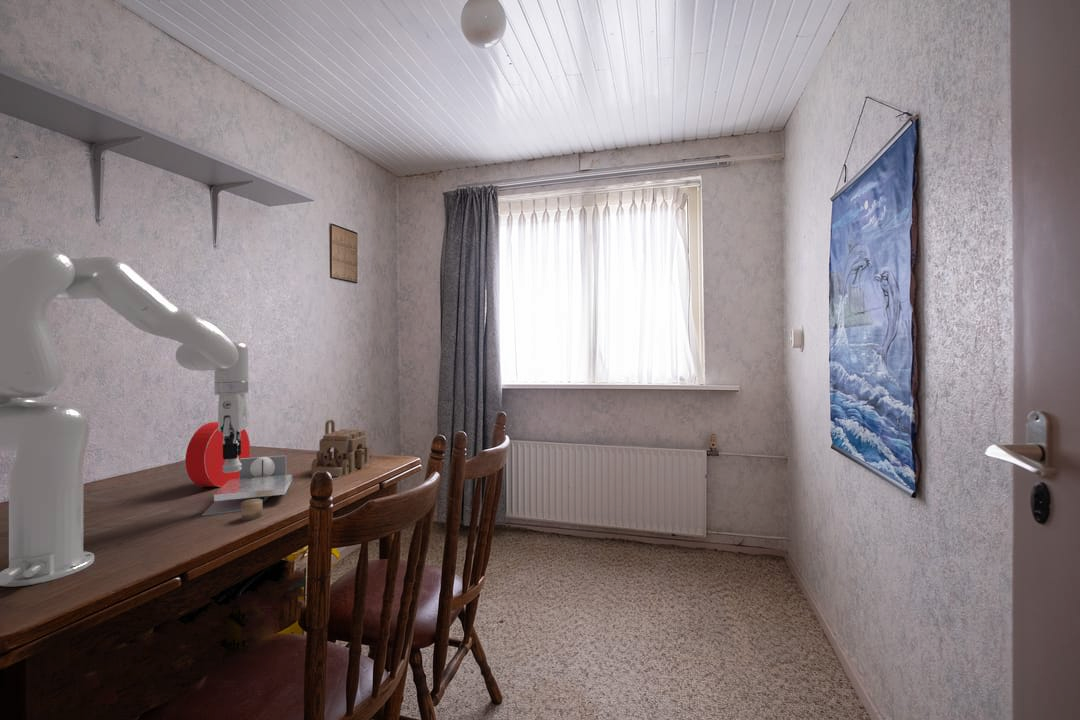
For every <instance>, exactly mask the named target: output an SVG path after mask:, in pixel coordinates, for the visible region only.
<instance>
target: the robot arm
mask: <svg viewBox="0 0 1080 720" xmlns="http://www.w3.org/2000/svg"><path fill="white" fill-rule="evenodd" d="M55 299H56V300H83V299H84V300H87V299H88V300H89V299H91V300H92V299H98V300H100V301H101V302H103V303H105V305H107V306H108V307H109V308H111V310H114V312H116V313H118V314H119V316H121V317H123V318H124V319H125V320H126V321H127V322H129V323H130V324H132V325H133V326H134V328H135V327H136V328H137V329H138V330H140V331H142V332H145V333H147V334H150V335H154V336H157V337H161V338H165V339H169V340H173V341H176V342H178V343H181V345H180V346H178V348H177V349H176V350H175V360H176V361H177V363H178V364H179V366H181V367H182V368H184V369H187V370H190V371H214V372H213V373H214V376H213V377H214V380H213V381H214V395H215V396H218V401H217V402H218V403H217V404H218V405H217V406H218V408H217V409H218V410H217V413H218V414H217V417H218V418H217V422H218V429H219V431H220V432H221V433H223V459H236V458H237V457H238V456H239V455H241V431H242V430H243V429H245V430H246V428H247V427H248V410H247V409H248V408H247V398H246V395H247V394H249V347H248V345H247V344H246V343H245V342H240V341H239V342H238V341H237V342H235V341H232V340H231V339H230V338H229V337H228V336H227V335H226V334H225V333H224V332H222V331H221V329H219V328H217V326H215V325H214V324H212V323H211V322H209V321H207V320H205V319H203V318H201V317H199V316H197V315H195V314H193V313H191V312H190V311H188V310H186V309H184V308H182V307H180V306H178V305H176V304H174V303H173V302H171V301H170V300H169V299H168V298H166V297H165V296H164V295H163V294H162V293H161V292H159V290H157V289H156V287H154V286H153V285H152V284H150V283H149V282H148V281H147V280H146V279H145V278H144V277H143V276H141V275H140V274H139V273H138V272H137V271H136V270H134V269H133V268H132V267H131V266H130V265H129V264H127V263H125V262H124V261H122V260H121V259H118V258H116V257H111V256H96V257H95V256H93V257H92V256H91V257H81V258H71V257H68V256H67V255H66V253H63V252H61V251H59V250H57V249H53V248H52V249H51V248H46V247H27V248H25V247H24V248H18V249H9V250H1V251H0V450H1V451H6V452H12V453H13V452H15V453H16V454H15V458H14V461H13V463H12V465H11V469H10V472H9V479H8V567H7V568H5V569H3V570H2V571H0V587H9V588H10V587H11V588H13V587H15V588H16V587H24V586H29V585H31V586H32V585H38V584H41V583H46V582H47V583H48V582H49V581H54V580H57V579H58V580H59V579H60V578H65V577H67V576H70V575H73V574H75V573H77V572H78V573H79V572H80V571H81V570H84V569H86V568H88V567H90V565H92V564H93V563H94V562H95V554H94V553H93V552H90V551H85V550H84V463H85V454H86V450H87V445H88V441H89V437H90V431H91V430H90V427H91V426H90V422H89V419H88V417H87V416H86V414H85V413H84V412H83V411H82V410H80V409H78V408H77V407H76V406H73V405H70V404H67V403H62V402H50V401H41V400H40V398H41V397H45V396H48V395H50V394H53V393H55V392H57V390H58V389H60V387H61V386H62V385H63V383H64V379H65V372H64V368H63V364H62V362H61V359H60V356H59V352H58V350H57V346H56V343H55V340H54V336H53V334H52V331H51V326H50V321H49V312H50V309H51V308H50V307H51V306H52V303H53V302H54V300H55ZM236 440H240V441H238V443H239V445H238V443H236Z"/></svg>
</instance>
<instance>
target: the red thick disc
mask: <svg viewBox="0 0 1080 720" xmlns="http://www.w3.org/2000/svg"><path fill="white" fill-rule="evenodd" d="M238 441H240V440H238ZM250 442H251V441H250V437H249V434H248V432H247V430H246V428H245V429H243V430H242V431H241V455H239V456H238V459H240V458H250V453H251V443H250ZM225 461H226V459H223V433H221V432H220V431H219V429H218V421H216V422H215V421H213V422H212V421H210V422H208V423H205V424H203V425H201V426H200V427H199V428H198V429H197V430H196V431H195V432H194V434H193V435H192V436H191V439H190V441H189V442H188V444H187V448H186V452H185V470H186V473H187V475H188V478H189V480H191V482H192V483H194V484H195V485H197V486H199V487H203V488H204V487H208V488H209V487H210V488H212V487H214V488H216V487H217V488H218V487H219V488H222V487H223V486H224V485H225V484H226V483H227V482H228V481H229V480H231V479H239V471H237V472H230V473H224V472H223V471H222V470H223V469H224V468H223V465H224V464H225V463H224V462H225Z"/></svg>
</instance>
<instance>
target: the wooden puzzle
mask: <svg viewBox="0 0 1080 720" xmlns="http://www.w3.org/2000/svg"><path fill="white" fill-rule="evenodd" d="M324 425H325V426H324V435H323V436H322V438H320V440H319V442H318V443H319V444H318V445H319V446H318V447H319V450H318V451H316V458H314V459H313V460H312V462H311V468H310V469H311V471H310V472H311V476H313V474H314V473H315V472H317V471H328V472H330V473H331V475H332V476H333V478H334V476H336V475H337V476H340V477H342V476H343V474H346V475H348V474H350V473H349V472H352V473H354V472H355V470H356V471H358V470H357V469H356V468H364V467H365V466H366V465H368V464H370V463H371V462H372V463H373V461H372V459H373V457H372V455H373V454H372V452H371V450H370V449H371V446H370V445H369V446H367V434H366V431H365V430H363V429H352V430H351V429H349V428H348V429H345V428H341V429H339V430H338V431H337V430H336V429H335V428H336V427H335V426H336V424H335V421H334V420H333V419H328V420H326V422H325V424H324ZM330 425H331V426H330ZM329 427H331V428H329ZM330 430H331V431H330ZM329 432H331V433H329ZM332 448H333V451H331V449H332ZM370 465H371V464H370ZM365 468H366V467H365ZM365 468H364V469H365ZM353 471H354V472H353ZM347 473H348V474H347ZM341 475H342V476H341Z"/></svg>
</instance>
